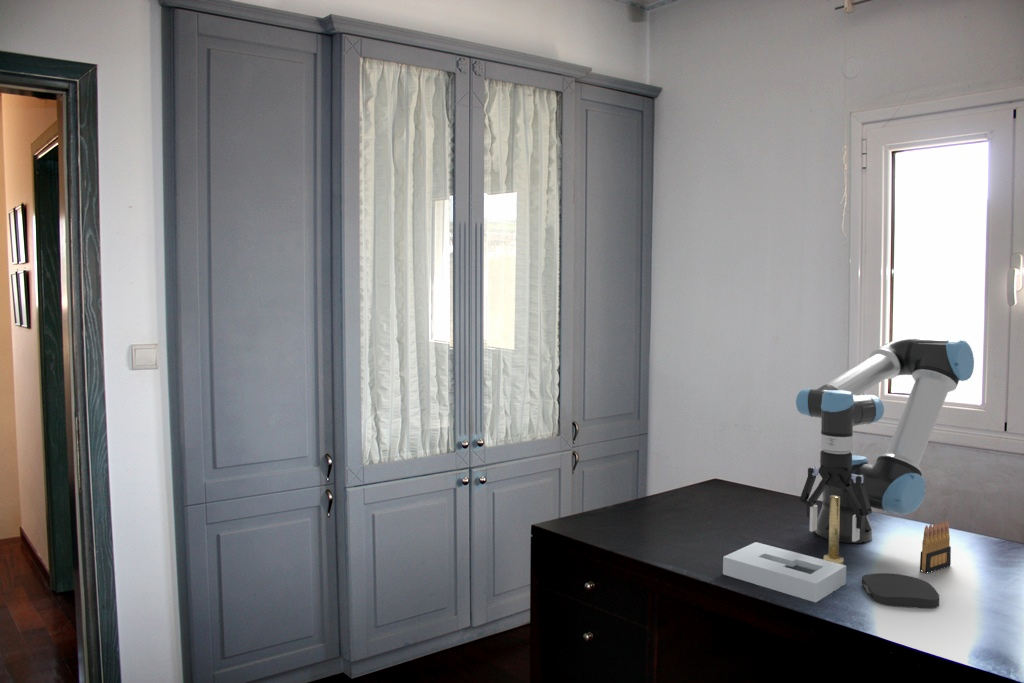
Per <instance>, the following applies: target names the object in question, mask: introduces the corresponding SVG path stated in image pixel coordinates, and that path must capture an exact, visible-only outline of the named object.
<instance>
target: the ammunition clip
mask: <svg viewBox="0 0 1024 683" xmlns="http://www.w3.org/2000/svg"><path fill="white" fill-rule="evenodd" d="M950 539H951V538H950V525H949V520H948V519H946V520H945V521H944V520H942V521H941V522H939V521H938V522H937V523H936V522H934V523H933V524H931V523H930V524H929V526H928V525H925V527H924V530H923V539H922V542H921V543H922V545H921V546H922V548H921V551H920V558H919V559H920V560H919V572H921V570H922V571H923V572H922V573H924V572H926V573H925V574H928V573H927V572H930V573H932V572H931V571H933V572H935V571H934V570H936V571H939V570H942V569H945V568H947V566H948V567H951V566H950V565H952V562H951V561H952V560H951V559H952V558H951V556H952V554H951V553H952V550H951V549H952V546H951V545H950V544H951V543H950ZM944 567H945V568H944ZM941 568H942V569H941ZM938 569H939V570H938Z"/></svg>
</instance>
